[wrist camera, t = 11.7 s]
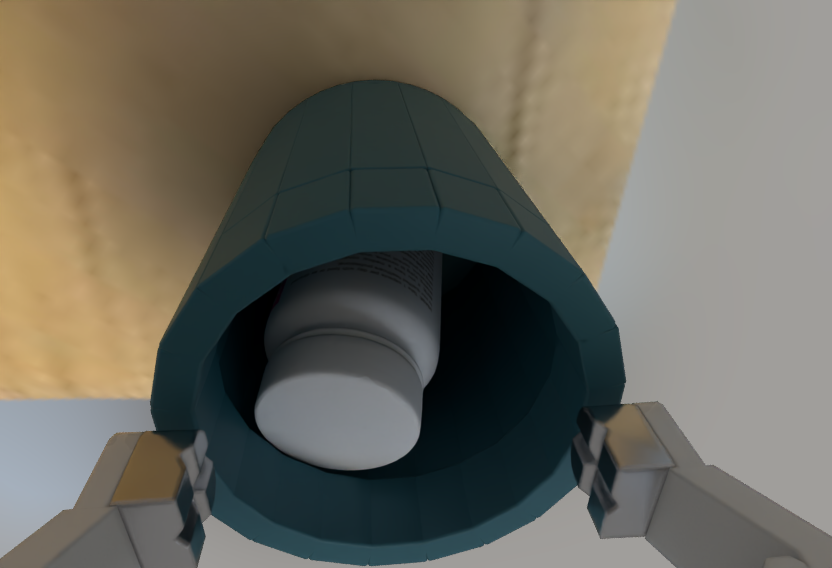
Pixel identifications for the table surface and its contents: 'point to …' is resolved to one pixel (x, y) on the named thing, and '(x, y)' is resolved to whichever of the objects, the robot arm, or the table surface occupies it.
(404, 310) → the pill bottle
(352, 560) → the jar
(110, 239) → the table surface
